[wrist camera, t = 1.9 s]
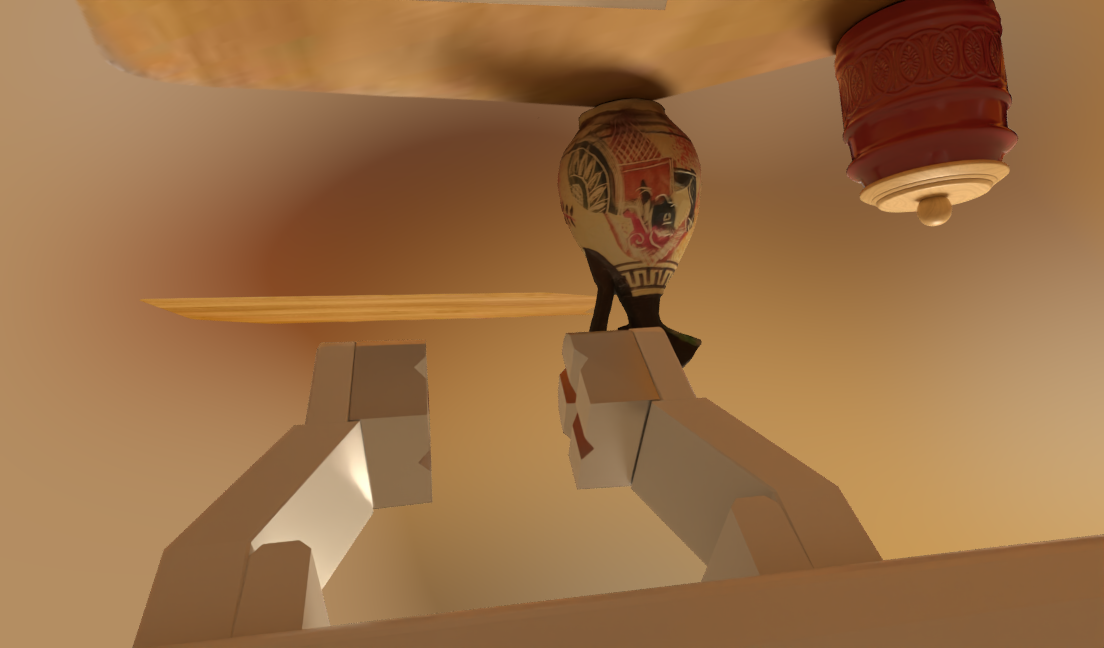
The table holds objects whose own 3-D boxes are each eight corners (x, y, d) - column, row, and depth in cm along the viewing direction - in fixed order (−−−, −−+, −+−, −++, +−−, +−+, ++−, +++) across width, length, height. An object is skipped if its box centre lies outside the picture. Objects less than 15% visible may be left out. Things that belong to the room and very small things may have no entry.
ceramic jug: (723, 86, 68) (751, 382, 65) (658, 143, 83) (679, 386, 80) (562, 74, 63) (585, 393, 60) (524, 137, 78) (541, 395, 75)
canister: (990, 39, 62) (1017, 226, 60) (839, 78, 68) (859, 249, 66) (1007, -35, 51) (1040, 192, 49) (824, 20, 57) (847, 224, 55)
